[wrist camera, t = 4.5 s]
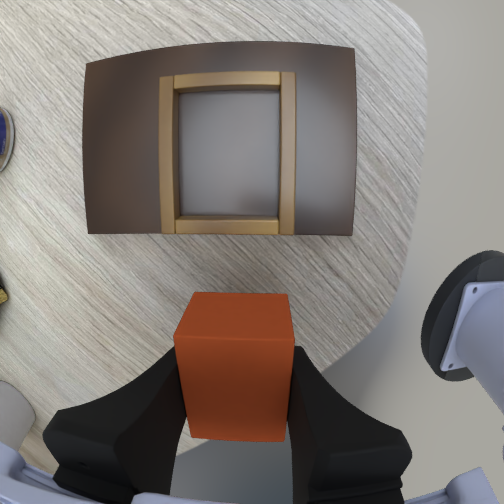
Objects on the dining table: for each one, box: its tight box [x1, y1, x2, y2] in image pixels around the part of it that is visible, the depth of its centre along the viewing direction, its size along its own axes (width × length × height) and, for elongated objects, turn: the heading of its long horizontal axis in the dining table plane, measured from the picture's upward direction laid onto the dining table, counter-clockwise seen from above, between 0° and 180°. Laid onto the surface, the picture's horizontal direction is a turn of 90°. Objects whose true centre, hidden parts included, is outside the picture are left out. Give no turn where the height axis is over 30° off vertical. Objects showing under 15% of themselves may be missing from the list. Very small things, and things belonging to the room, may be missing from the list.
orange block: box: [173, 292, 295, 442], centre depth 12 cm, size 4×6×4 cm
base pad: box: [82, 41, 357, 236], centre depth 15 cm, size 16×11×2 cm
